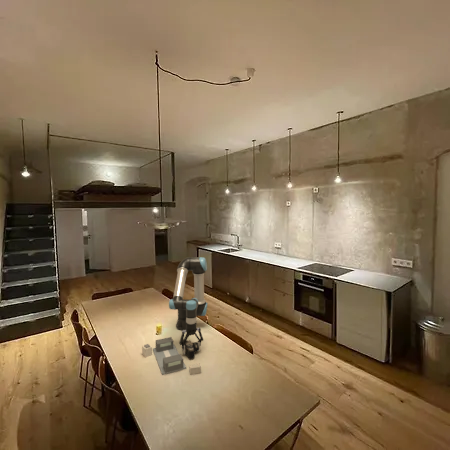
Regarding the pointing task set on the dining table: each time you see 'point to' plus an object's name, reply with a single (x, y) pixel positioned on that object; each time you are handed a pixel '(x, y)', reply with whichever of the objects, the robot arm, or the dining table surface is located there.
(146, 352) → the block
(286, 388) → the dining table surface
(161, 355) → the rail board
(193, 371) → the terminal block
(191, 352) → the camera
